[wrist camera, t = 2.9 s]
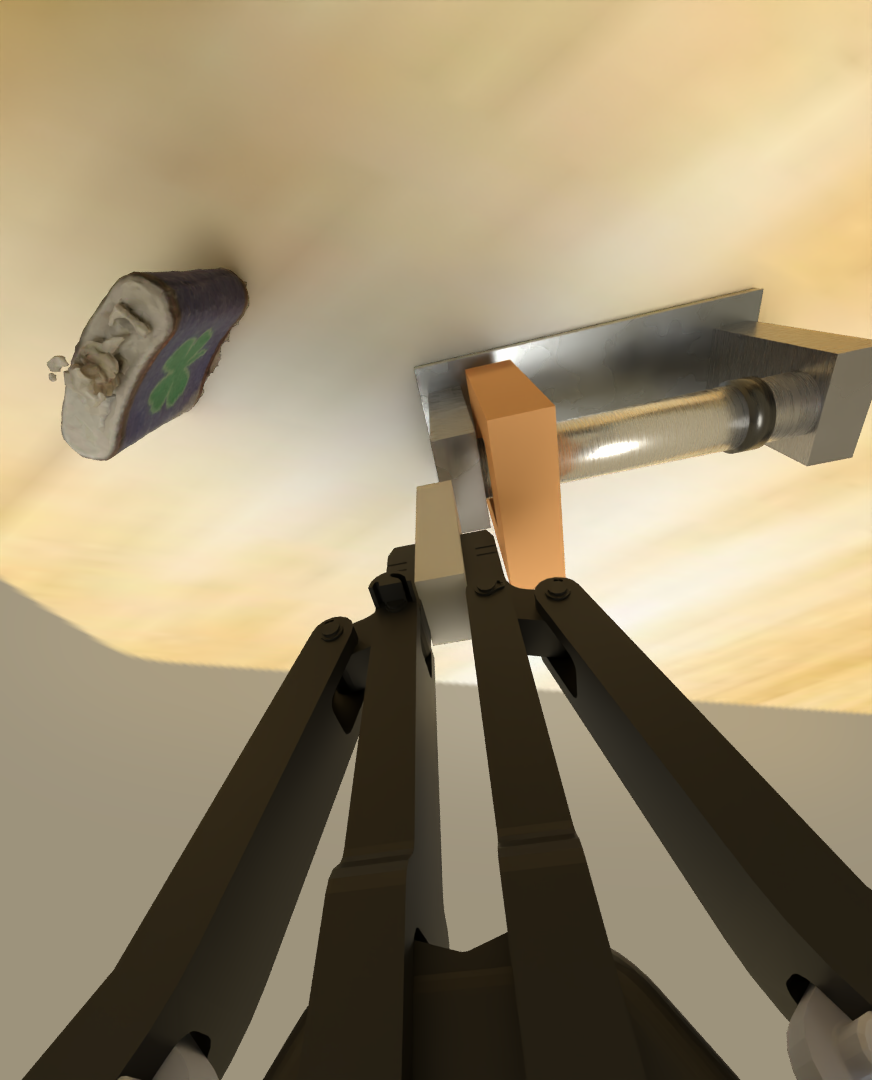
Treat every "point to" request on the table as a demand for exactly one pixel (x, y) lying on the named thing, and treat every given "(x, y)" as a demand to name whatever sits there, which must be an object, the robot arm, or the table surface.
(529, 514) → the orange square ring
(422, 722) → the robot arm
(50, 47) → the table surface
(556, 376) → the pipe rail
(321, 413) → the table surface
